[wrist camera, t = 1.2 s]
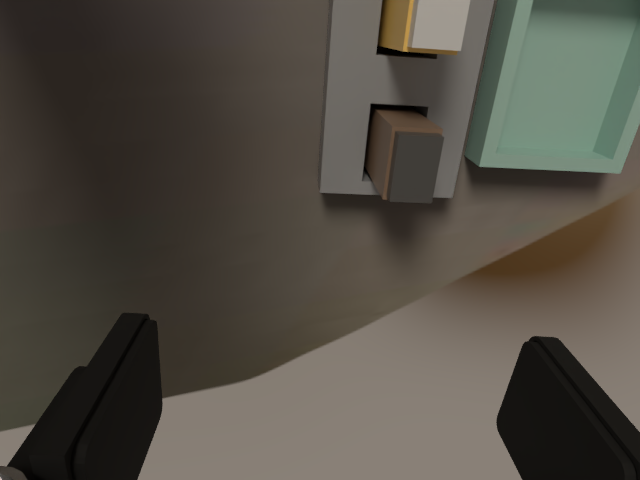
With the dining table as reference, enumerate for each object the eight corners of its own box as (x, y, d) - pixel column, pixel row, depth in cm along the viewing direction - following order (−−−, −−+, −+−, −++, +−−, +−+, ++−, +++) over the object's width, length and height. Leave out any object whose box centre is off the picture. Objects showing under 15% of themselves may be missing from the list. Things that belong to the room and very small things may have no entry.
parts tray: (505, -38, 29) (528, -44, 26) (660, -24, 30) (697, -29, 27) (464, 155, 35) (479, 166, 32) (595, 162, 35) (620, 173, 33)
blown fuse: (369, 104, 32) (396, 130, 24) (409, 106, 33) (448, 132, 25) (363, 163, 34) (385, 205, 26) (400, 165, 35) (434, 207, 27)
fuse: (384, -30, 29) (421, -51, 21) (429, -26, 29) (483, -46, 21) (376, 45, 31) (407, 52, 23) (418, 48, 31) (463, 56, 23)
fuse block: (333, -62, 28) (338, -72, 25) (485, -49, 29) (506, -56, 26) (317, 179, 35) (319, 192, 32) (440, 185, 36) (452, 198, 33)
